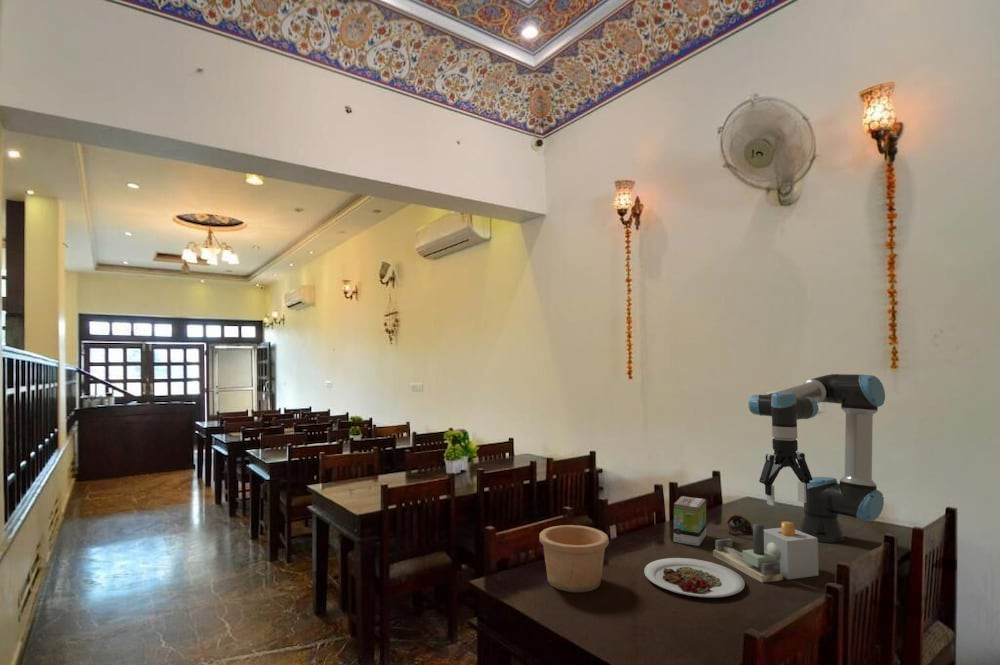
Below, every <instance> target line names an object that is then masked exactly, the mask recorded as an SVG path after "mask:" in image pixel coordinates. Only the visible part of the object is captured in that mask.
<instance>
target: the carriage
mask: <svg viewBox="0 0 1000 665" xmlns="http://www.w3.org/2000/svg"><path fill="white" fill-rule="evenodd" d="M764 527H765V526H764V524H760V523H753V524H752V529H753V534H752V540H753V541H752V542H753V544H752V547H753V548H752V549H745V550H744V549H742V552H741V553H742V555H743V560H744V561H746V562H748V563H750V564H752V565H754V566H756V567H761V563H763V562H772V561H776V556H775V555H773V554H771V553H769V552H766V551H764V529H765V528H764Z"/></svg>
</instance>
